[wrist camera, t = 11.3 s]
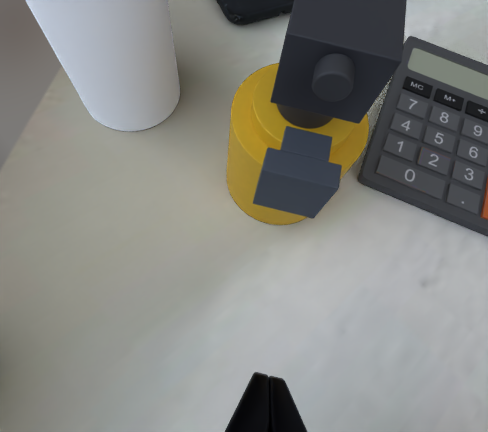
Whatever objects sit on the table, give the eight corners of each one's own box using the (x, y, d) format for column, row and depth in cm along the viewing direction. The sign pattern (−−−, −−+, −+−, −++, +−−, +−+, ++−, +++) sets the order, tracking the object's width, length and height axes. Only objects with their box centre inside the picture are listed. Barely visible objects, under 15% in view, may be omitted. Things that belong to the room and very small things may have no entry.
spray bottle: (318, 239, 22) (468, 99, 9) (214, 213, 22) (213, 37, 9) (332, 147, 25) (464, -66, 12) (239, 124, 25) (267, -114, 12)
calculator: (362, 175, 23) (409, 32, 28) (356, 181, 24) (404, 42, 29) (524, 243, 22) (543, 84, 27) (513, 246, 23) (533, 91, 28)
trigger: (313, 218, 15) (338, 188, 12) (252, 204, 15) (262, 170, 12) (320, 177, 15) (345, 139, 12) (261, 163, 15) (273, 122, 12)
